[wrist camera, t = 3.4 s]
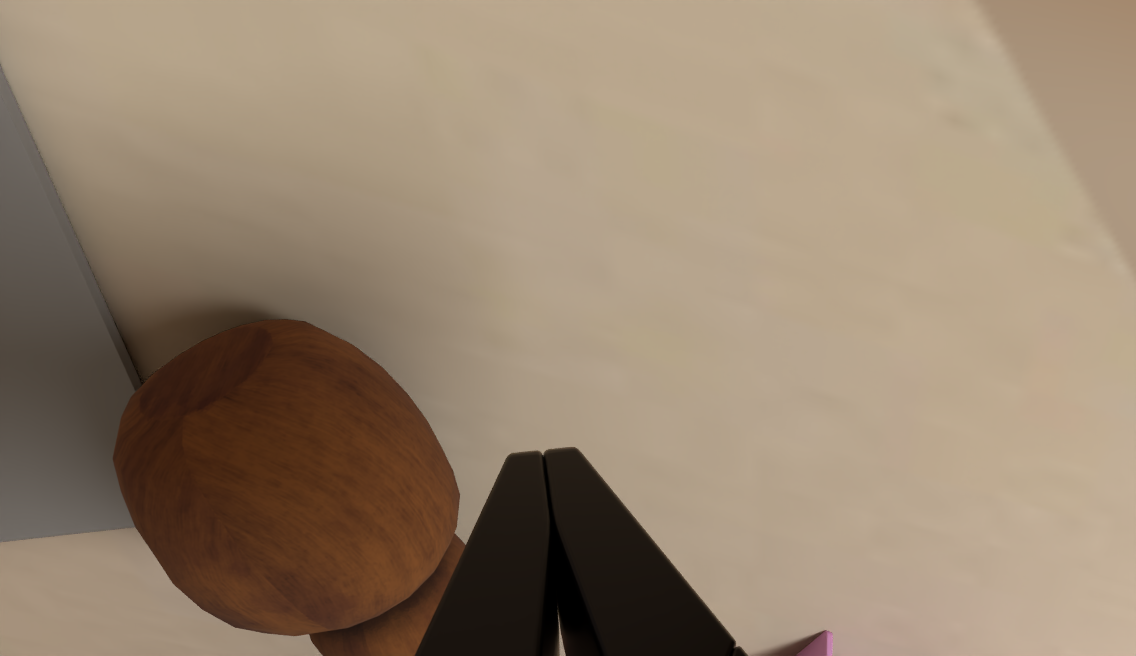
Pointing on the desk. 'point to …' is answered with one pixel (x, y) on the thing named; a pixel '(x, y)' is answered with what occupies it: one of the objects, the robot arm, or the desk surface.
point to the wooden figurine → (292, 489)
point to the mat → (53, 359)
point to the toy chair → (819, 646)
